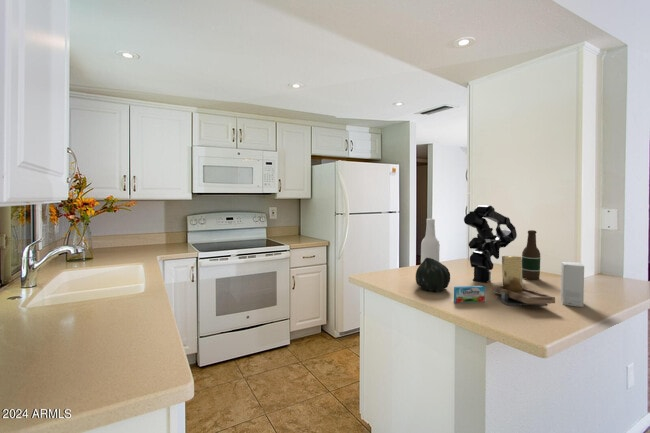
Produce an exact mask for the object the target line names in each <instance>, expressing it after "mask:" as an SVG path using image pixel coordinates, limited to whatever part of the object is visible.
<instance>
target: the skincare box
mask: <svg viewBox="0 0 650 433" xmlns="http://www.w3.org/2000/svg"><path fill="white" fill-rule="evenodd" d="M560 275H561V279H560V280H561V282H560V283H561V284H560V285H561V287H560V288H561V289H560V300H561V303H562V305H563V306H568V307H569V306H570V307H577V308H578V307H579V308H583V307H584V303H585V302H584V299H585V298H584V295H585V294H584V292H585V289H584V288H585V287H584V286H585V266H584V264H583V263H582V262H577V261H575V262H574V261H561V274H560Z"/></svg>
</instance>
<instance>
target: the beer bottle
mask: <svg viewBox="0 0 650 433" xmlns="http://www.w3.org/2000/svg"><path fill="white" fill-rule="evenodd" d="M521 257H522V279H523V280H529V281H538V280H540V277H541V252H540V250H539V248H538V247H537V230H535V229H534V230H533V229H530V230H528V231H527V241H526V245H525V248H523V251H522V252H521Z"/></svg>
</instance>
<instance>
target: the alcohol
mask: <svg viewBox="0 0 650 433" xmlns="http://www.w3.org/2000/svg"><path fill="white" fill-rule="evenodd" d="M425 222H426V227H425V228H426V229H425V236H424V237H423V239H422V240H421V244H420V265H421V264H422V262H423V261H424V260H425V259H426V258H432V259H434V260H436V261H438V262H440V249H441V248H440V247H441V246H440V241H439V240H438V238H437V237H436V225H435V218H426V221H425Z"/></svg>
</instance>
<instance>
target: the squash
mask: <svg viewBox="0 0 650 433" xmlns="http://www.w3.org/2000/svg"><path fill="white" fill-rule="evenodd" d="M450 281H451V273H450V270H449V269H448V267H447V266H446V265H444V264H443V263H442V262H440V261H439V262H438V261H436V260H434V259H432V258H426V259H425V260H424V261H423V262H422V264H421V263H420V265H418V267H417V269H416V272H415V282H416V284H417V286H418V287H420V289H422V290H425V291H429V292H434V291H435V292H437V293H439V292H441V291H442V290H444V289H447V288H448V287H449V284H450V283H451V282H450Z"/></svg>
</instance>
